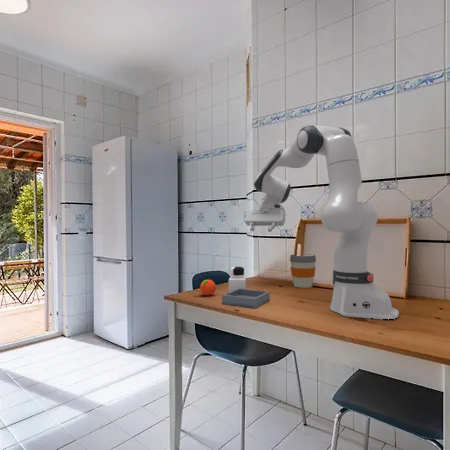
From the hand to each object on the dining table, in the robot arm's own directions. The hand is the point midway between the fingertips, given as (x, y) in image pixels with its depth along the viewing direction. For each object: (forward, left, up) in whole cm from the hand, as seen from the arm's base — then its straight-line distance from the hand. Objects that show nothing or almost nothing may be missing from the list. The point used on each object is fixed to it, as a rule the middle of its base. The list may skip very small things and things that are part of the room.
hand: (260, 230), depth 156 cm
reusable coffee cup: (-16, -15, -28) cm, 35 cm away
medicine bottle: (+4, +16, -28) cm, 32 cm away
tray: (-6, +27, -28) cm, 39 cm away
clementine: (+14, +25, -28) cm, 40 cm away
